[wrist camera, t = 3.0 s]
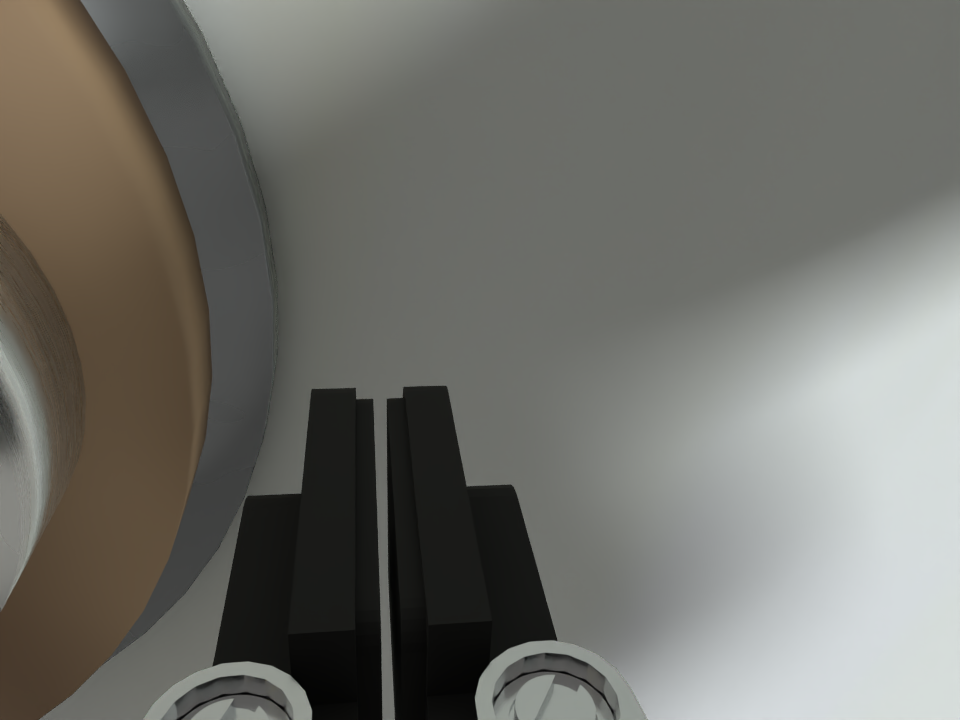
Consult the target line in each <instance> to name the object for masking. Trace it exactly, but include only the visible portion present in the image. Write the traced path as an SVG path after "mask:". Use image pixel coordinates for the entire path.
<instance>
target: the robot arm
mask: <svg viewBox="0 0 960 720" xmlns="http://www.w3.org/2000/svg"><path fill="white" fill-rule="evenodd" d="M387 487H388V578H389V602H390V623H391V644H392V665H393V686H394V707H395V720H648V719H647V717H646V715H645V713H644V712H643V710H642V708H641V706H640V704H639V702H638V701H637V699H636V697H635V695H634V693H633V691H632V689H631V688H630V686H629V685H628V683H627V682H626V681H625V679H624V678H623V677H622V675H621V674H620V673H619V671H618V670H617V669H616V668H615V667H614V666H612V665H611V664H610V663H609V662H607V661H606V660H605V659H603V658H602V657H601V656H599V655H598V654H596V653H594V652H592V651H589V650H587V649H585V648H583V647H580V646H578V645H576V644H570V643H565V642H559V641H557V637H556V634H555V630H554V627H553V623H552V619H551V616H550V612H549V609H548V605H547V602H546V598H545V594H544V591H543V587H542V584H541V580H540V576H539V573H538V569H537V566H536V562H535V558H534V555H533V551H532V548H531V544H530V541H529V537H528V533H527V530H526V526H525V523H524V519H523V515H522V512H521V508H520V505H519V501H518V498H517V494H516V492H515V489H514V487H513V486H512V485H491V486H468V487H466V482H465V477H464V471H463V466H462V461H461V456H460V451H459V446H458V441H457V435H456V430H455V425H454V420H453V415H452V410H451V404H450V399H449V394H448V389H447V386H417V387H404V388H403V398H391V399H387ZM143 720H382V671H381V620H380V588H379V558H378V529H377V500H376V470H375V441H374V411H373V399H356V388H340V389H312V391H311V399H310V410H309V420H308V430H307V441H306V451H305V461H304V472H303V482H302V492H301V494H282V495H259V496H248V497H247V498H246V500H245V504H244V507H243V512H242V518H241V523H240V528H239V533H238V538H237V543H236V549H235V554H234V559H233V564H232V569H231V574H230V580H229V585H228V590H227V595H226V600H225V606H224V611H223V616H222V621H221V626H220V631H219V637H218V642H217V647H216V652H215V657H214V662H213V667H210V668H206V669H203V670H200V671H197V672H195V673H193V674H192V675H190V676H188V677H186V678H185V679H183V680H181V681H179V682H178V683H176V684H174V685H173V686H172V687H171V688H169V689H168V690H167V691H166V692H165V693H164V694H163V695H162V696H161V697H160V698H159V699H158V700H156V701H155V702H154V703H153V705H152V706H151V708H150V709H149V711H148V712H147V714H146V716H145V717H144V719H143Z"/></svg>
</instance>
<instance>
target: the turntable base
mask: <svg viewBox="0 0 960 720" xmlns="http://www.w3.org/2000/svg"><path fill="white" fill-rule="evenodd" d="M81 2H82V3H83V5H84V6H85V8H86V10H87V11H88V13H89V14H90V16H91V17H92V19H93V21H94V22H95V24H96V25H97V27H98V28H99V30H100V32H101V33H102V35H103V36H104V38H105V39H106V41H107V43H108V44H109V46H110V47H111V49H112V50H113V52H114V54H115V55H116V57H117V58H118V60H119V61H120V63H121V65H122V66H123V68H124V69H125V71H126V73H127V75H128V77H129V79H130V81H131V83H132V85H133V88H134V90H135V92H136V94H137V96H138V98H139V100H140V102H141V104H142V106H143V108H144V110H145V112H146V114H147V116H148V118H149V120H150V122H151V124H152V126H153V129H154V131H155V133H156V135H157V137H158V139H159V141H160V143H161V145H162V147H163V149H164V151H165V153H166V155H167V158H168V161H169V164H170V166H171V169H172V172H173V175H174V178H175V181H176V184H177V187H178V190H179V193H180V196H181V198H182V201H183V204H184V207H185V210H186V213H187V216H188V219H189V222H190V225H191V228H192V231H193V233H194V237H195V242H196V247H197V252H198V257H199V262H200V267H201V272H202V277H203V282H204V287H205V292H206V297H207V302H208V307H209V320H210V340H211V361H212V384H211V393H210V403H209V412H208V421H207V430H206V438H205V442H204V445H203V449H202V453H201V456H200V460H199V463H198V467H197V470H196V474H195V477H194V481H193V484H192V488H191V491H190V495H189V498H188V501H187V504H186V507H185V510H184V513H183V516H182V519H181V522H180V526H179V529H178V532H177V535H176V538H175V541H174V544H173V547H172V550H171V553H170V556H169V559H168V561H167V563H166V565H165V568H164V570H163V572H162V574H161V576H160V578H159V580H158V582H157V584H156V586H155V588H154V590H153V592H152V594H151V596H150V599H149V601H148V603H147V605H146V607H145V609H144V611H143V612H142V613H141V615H140V616H139V618H138V619H137V620H136V622H135V623H134V625H133V626H132V627H131V629H130V630H129V632H128V633H127V634H126V636H125V637H124V639H123V640H122V641H121V643H120V644H119V645H118V647H117V648H116V650H115V651H114V652H113V654H112V655H111V656H110V657H109V658H108V659H107V660H106V661H105V662H107V661H108V660H109V659H111V658H112V657H114V656H115V655H116V654H118V653H119V652H120V651H122V650H123V649H124V648H126V647H127V646H128V645H130V644H131V643H132V642H134V641H135V640H136V639H138V638H139V637H140V636H142V635H143V634H145V633H146V632H147V631H148V630H149V629H150V628H151V627H152V626H153V625H154V624H155V623H156V622H157V621H158V620H159V619H160V618H161V617H162V616H163V615H164V614H165V613H166V612H167V611H168V610H169V609H170V608H171V607H172V606H173V605H174V604H175V603H176V602H177V601H178V600H179V599H180V598H181V597H182V596H183V595H184V594H185V593H186V591H187V590H188V589H189V587H190V586H191V585H192V583H193V582H194V580H195V579H196V578H197V576H198V575H199V574H200V572H201V571H202V570H203V568H204V567H205V566H206V564H207V563H208V562H209V560H210V559H211V557H212V556H213V555H214V553H215V552H216V551H217V549H218V548H219V546H220V544H221V542H222V540H223V538H224V536H225V534H226V532H227V530H228V528H229V526H230V524H231V522H232V520H233V518H234V516H235V515H236V513H237V511H238V509H239V507H240V505H241V503H242V501H243V499H244V497H245V494H246V491H247V487H248V484H249V481H250V478H251V475H252V472H253V469H254V466H255V462H256V459H257V456H258V453H259V450H260V447H261V444H262V441H263V437H264V432H265V428H266V423H267V418H268V413H269V406H270V399H271V393H272V386H273V379H274V373H275V366H276V359H277V280H276V273H275V267H274V260H273V253H272V247H271V240H270V233H269V227H268V220H267V214H266V207H265V203H264V200H263V197H262V193H261V190H260V186H259V183H258V179H257V176H256V173H255V169H254V166H253V162H252V159H251V155H250V152H249V149H248V145H247V142H246V138H245V135H244V131H243V128H242V125H241V122H240V120H239V117H238V115H237V113H236V110H235V108H234V106H233V103H232V101H231V99H230V96H229V94H228V92H227V90H226V87H225V85H224V83H223V80H222V78H221V76H220V73H219V71H218V69H217V66H216V64H215V62H214V59H213V57H212V55H211V52H210V50H209V48H208V46H207V43H206V41H205V39H204V36H203V34H202V32H201V30H200V29H199V27H198V25H197V23H196V22H195V20H194V18H193V17H192V15H191V13H190V11H189V10H188V8H187V6H186V4H185V3H184V1H183V0H81ZM105 662H104V663H105ZM104 663H103V664H104ZM103 664H102V665H103Z"/></svg>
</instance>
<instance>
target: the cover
mask: <svg viewBox="0 0 960 720" xmlns="http://www.w3.org/2000/svg"><path fill="white" fill-rule="evenodd" d="M85 411H86V394H85V387H84V379H83V372H82V365H81V360H80V357H79V353H78V350H77V347H76V343H75V340H74V336H73V333H72V329H71V326H70V324H69V322H68V320H67V317H66V315H65V313H64V311H63V309H62V306H61V304H60V302H59V300H58V297H57V295H56V293H55V291H54V289H53V287H52V286H51V284H50V282H49V281H48V279H47V278H46V276H45V274H44V273H43V271H42V269H41V268H40V266H39V264H38V263H37V261H36V260H35V258H34V256H33V255H32V253H31V252H30V250H29V249H28V248H27V247H26V245H25V244H24V243H23V241H22V240H21V239H20V238H19V236H18V235H17V234H16V232H15V231H14V230H13V229H12V227H11V226H10V225H9V224H8V222H7V221H6V220H5V218H4V217H3V216H2V215H1V214H0V612H1V610H2V609H3V607H4V605H5V603H6V601H7V599H8V598H9V596H10V594H11V592H12V590H13V588H14V586H15V585H16V583H17V581H18V579H19V577H20V575H21V573H22V571H23V570H24V568H25V566H26V564H27V562H28V560H29V558H30V557H31V555H32V553H33V551H34V549H35V547H36V545H37V543H38V542H39V540H40V538H41V536H42V534H43V532H44V530H45V529H46V527H47V525H48V523H49V521H50V519H51V517H52V515H53V514H54V512H55V510H56V508H57V506H58V504H59V502H60V501H61V499H62V497H63V495H64V493H65V491H66V489H67V487H68V485H69V483H70V480H71V478H72V475H73V473H74V470H75V468H76V465H77V463H78V460H79V456H80V451H81V446H82V441H83V436H84V432H85Z"/></svg>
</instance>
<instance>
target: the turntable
mask: <svg viewBox="0 0 960 720" xmlns="http://www.w3.org/2000/svg"><path fill="white" fill-rule="evenodd" d="M0 214H1V215H2V216H3V217H4V218H5V220H6V221H7V222H8V224H9V225H10V226H11V227H12V229H13V230H14V231H15V232H16V234H17V235H18V236H19V238H20V239H21V240H22V241H23V243H24V244H25V245H26V247H27V248H28V249H29V250H30V252H31V253H32V255H33V256H34V258H35V260H36V261H37V263H38V264H39V266H40V268H41V269H42V271H43V273H44V274H45V276H46V278H47V279H48V281H49V282H50V284H51V286H52V287H53V289H54V291H55V293H56V295H57V297H58V300H59V302H60V304H61V306H62V309H63V311H64V313H65V315H66V317H67V320H68V322H69V324H70V326H71V329H72V333H73V336H74V340H75V343H76V347H77V350H78V353H79V357H80V360H81V365H82V372H83V379H84V387H85V394H86V411H85V432H84V436H83V441H82V446H81V451H80V456H79V460H78V463H77V465H76V468H75V470H74V473H73V475H72V478H71V480H70V483H69V485H68V487H67V489H66V491H65V493H64V495H63V497H62V499H61V501H60V502H59V504H58V506H57V508H56V510H55V512H54V514H53V515H52V517H51V519H50V521H49V523H48V525H47V527H46V529H45V530H44V532H43V534H42V536H41V538H40V540H39V542H38V543H37V545H36V547H35V549H34V551H33V553H32V555H31V557H30V558H29V560H28V562H27V564H26V566H25V568H24V570H23V571H22V573H21V575H20V577H19V579H18V581H17V583H16V585H15V586H14V588H13V590H12V592H11V594H10V596H9V598H8V599H7V601H6V603H5V605H4V607H3V609H2V610H1V612H0V720H39V719H40V718H41V717H43V716H44V715H45V714H47V713H48V712H49V711H51V710H52V709H53V708H55V707H56V706H58V705H59V704H60V703H62V702H63V701H64V700H66V699H67V698H68V697H70V696H71V695H72V694H73V693H74V692H75V691H76V690H77V689H78V688H79V687H80V686H81V685H82V684H83V683H84V682H85V681H86V680H87V679H88V678H89V677H90V676H91V675H92V674H93V673H94V672H95V671H96V670H97V669H98V668H99V667H100V666H101V665H102V664H103V663H104V662H105V661H106V660H107V659H108V658H109V657H110V656H111V655H112V654H113V652H114V651H115V650H116V648H117V647H118V645H119V644H120V643H121V641H122V640H123V639H124V637H125V636H126V634H127V633H128V632H129V630H130V629H131V627H132V626H133V625H134V623H135V622H136V620H137V619H138V618H139V616H140V615H141V613H142V612H143V611H144V609H145V607H146V605H147V603H148V601H149V599H150V596H151V594H152V592H153V590H154V588H155V586H156V584H157V582H158V580H159V578H160V576H161V574H162V572H163V570H164V568H165V565H166V563H167V561H168V559H169V556H170V553H171V550H172V547H173V544H174V541H175V538H176V535H177V532H178V529H179V526H180V522H181V519H182V516H183V513H184V510H185V507H186V504H187V501H188V498H189V495H190V491H191V488H192V484H193V481H194V477H195V474H196V470H197V467H198V463H199V460H200V456H201V453H202V449H203V445H204V442H205V438H206V430H207V421H208V412H209V403H210V393H211V384H212V361H211V340H210V320H209V307H208V302H207V297H206V292H205V287H204V282H203V277H202V272H201V267H200V262H199V257H198V252H197V247H196V242H195V237H194V233H193V231H192V228H191V225H190V222H189V219H188V216H187V213H186V210H185V207H184V204H183V201H182V198H181V196H180V193H179V190H178V187H177V184H176V181H175V178H174V175H173V172H172V169H171V166H170V164H169V161H168V158H167V155H166V153H165V151H164V149H163V147H162V145H161V143H160V141H159V139H158V137H157V135H156V133H155V131H154V129H153V126H152V124H151V122H150V120H149V118H148V116H147V114H146V112H145V110H144V108H143V106H142V104H141V102H140V100H139V98H138V96H137V94H136V92H135V90H134V88H133V85H132V83H131V81H130V79H129V77H128V75H127V73H126V71H125V69H124V68H123V66H122V65H121V63H120V61H119V60H118V58H117V57H116V55H115V54H114V52H113V50H112V49H111V47H110V46H109V44H108V43H107V41H106V39H105V38H104V36H103V35H102V33H101V32H100V30H99V28H98V27H97V25H96V24H95V22H94V21H93V19H92V17H91V16H90V14H89V13H88V11H87V10H86V8H85V6H84V5H83V3H82V2H81V0H0Z"/></svg>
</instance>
